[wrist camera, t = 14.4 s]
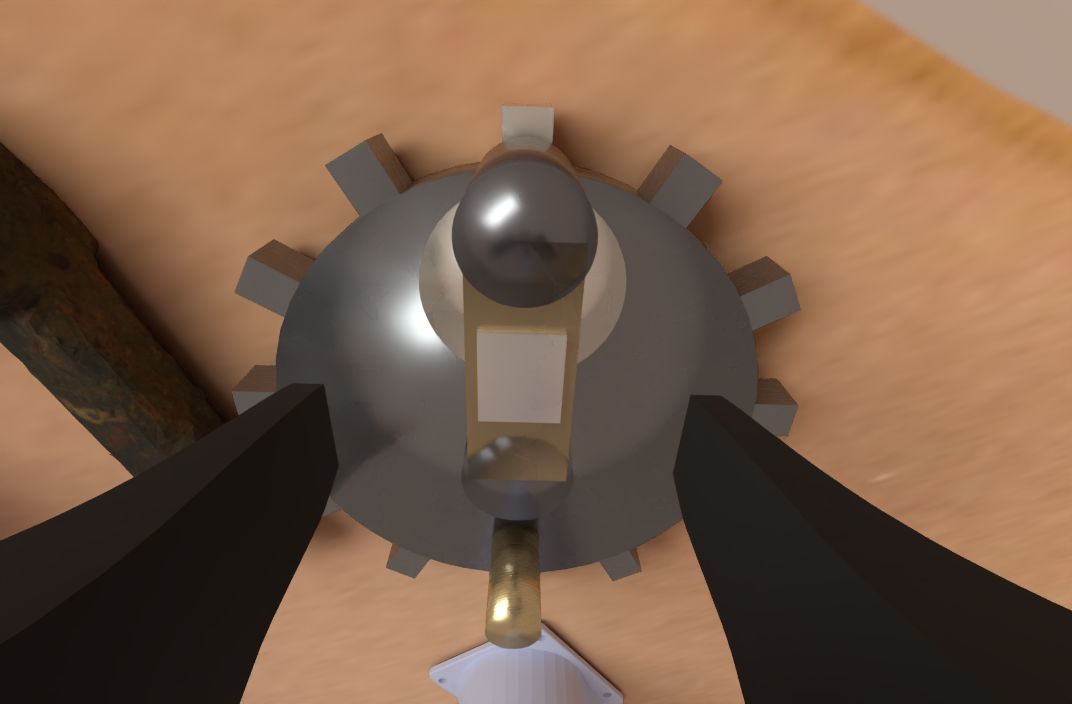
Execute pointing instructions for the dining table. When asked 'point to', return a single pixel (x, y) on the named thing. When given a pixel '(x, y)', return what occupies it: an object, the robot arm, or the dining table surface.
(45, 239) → the dark brown rough bar
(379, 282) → the sprocket
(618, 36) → the dining table surface
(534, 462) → the cartridge fuse
